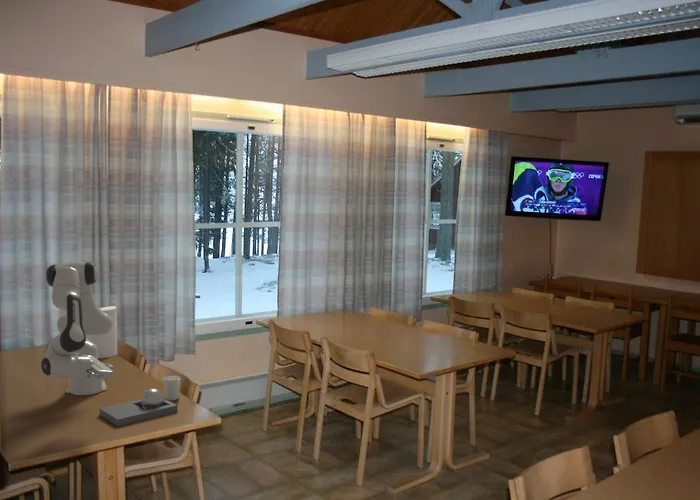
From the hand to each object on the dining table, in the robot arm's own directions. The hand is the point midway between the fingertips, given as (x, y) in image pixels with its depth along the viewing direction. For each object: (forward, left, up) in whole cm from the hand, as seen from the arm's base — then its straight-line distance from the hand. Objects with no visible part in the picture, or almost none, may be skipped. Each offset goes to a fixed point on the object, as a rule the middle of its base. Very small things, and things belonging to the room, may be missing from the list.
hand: (112, 367), depth 292 cm
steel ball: (-6, +16, -18) cm, 25 cm away
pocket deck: (-4, +11, -23) cm, 25 cm away
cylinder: (-112, -17, -23) cm, 115 cm away
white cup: (-23, +25, -23) cm, 40 cm away
